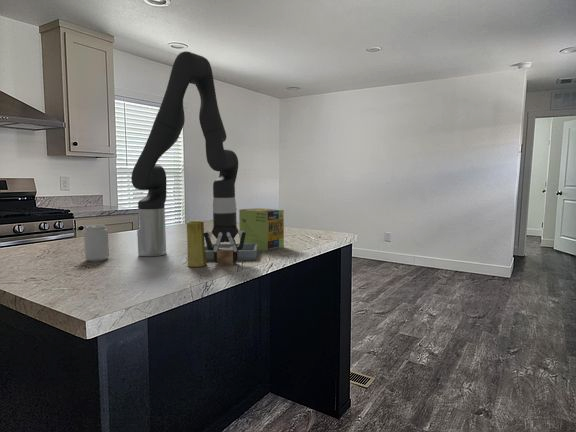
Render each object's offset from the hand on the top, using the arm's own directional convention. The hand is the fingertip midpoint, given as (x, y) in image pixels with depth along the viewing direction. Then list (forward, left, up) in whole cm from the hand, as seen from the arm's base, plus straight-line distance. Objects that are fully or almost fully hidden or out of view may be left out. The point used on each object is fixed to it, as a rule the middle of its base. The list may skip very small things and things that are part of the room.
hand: (226, 262), depth 129 cm
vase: (-9, -1, -1) cm, 9 cm away
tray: (0, +13, -1) cm, 13 cm away
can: (-46, +10, -1) cm, 47 cm away
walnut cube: (0, 0, -1) cm, 1 cm away
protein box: (+11, +30, -1) cm, 32 cm away
